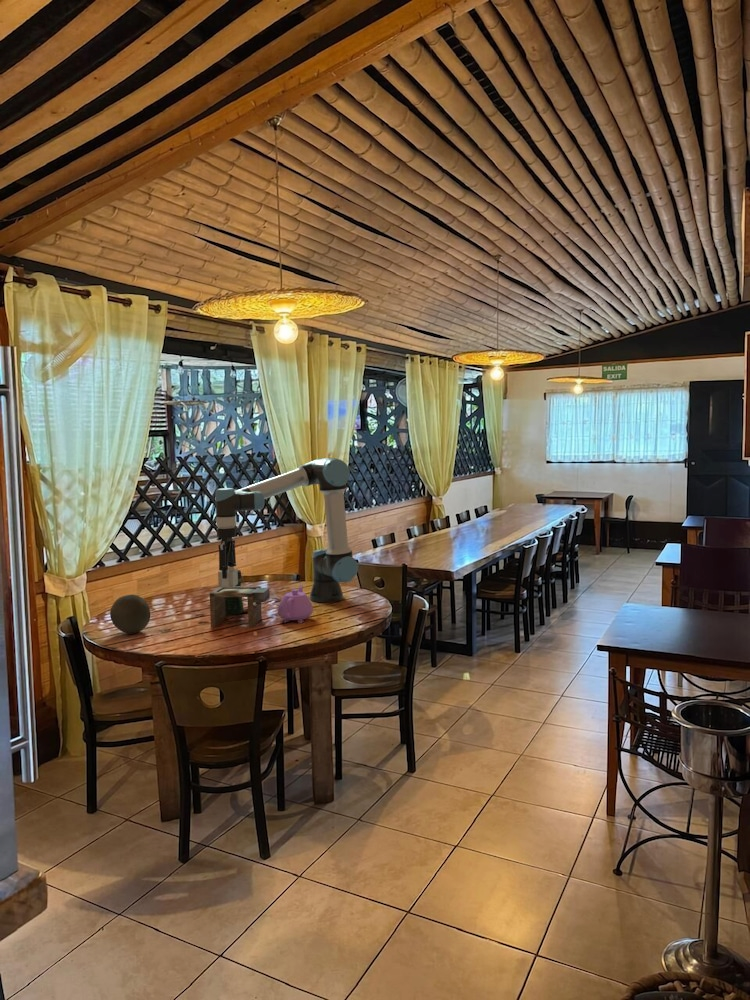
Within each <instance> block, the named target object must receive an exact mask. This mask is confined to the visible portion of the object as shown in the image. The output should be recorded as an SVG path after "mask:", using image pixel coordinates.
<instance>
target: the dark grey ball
mask: <svg viewBox="0 0 750 1000" xmlns="http://www.w3.org/2000/svg"><path fill="white" fill-rule="evenodd" d="M109 611H110V612H109V615H110V620H111V623H112V624H113V626H114V627H115V628H117V630H119V631H120V632H122V633H125V634H129V635H130V634H131V635H132V633H133V634H137V633H139V632H141V631H143V630H144V629H145V628H146V627H147V626H148V624H149V623H150V620H151V609H150V605H149V604H148V602H147V600H145V599H144V598H143V597H141V596H139V595H137V594H127V595H123V596H120V597H118V598H117V599H116V600H115V601H114V602H113V604H112V606H111V608H110V610H109Z"/></svg>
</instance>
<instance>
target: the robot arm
mask: <svg viewBox="0 0 750 1000" xmlns="http://www.w3.org/2000/svg"><path fill="white" fill-rule="evenodd" d="M350 476H351V471H350V468H349V465H347V463H346V462H345V461H343V460H342V459H340V458H335V457H330V458H329V457H324V458H323V457H322V458H316V459H314V460H311V461H308V462H307V463H304V464H302V465H299V466H297V468H296V469H294V470H290V471H288V472H285V473H283V474H279V475H277V476H275V477H271V478H268V479H265V480H262V481H260V482H257V483H253V484H250V485H248V486H246V487H242V488H240V489H235V488H233V487H231V488H230V487H223V488H216V490H215V498H214V499H215V500H214V501H215V514H216V517H215V520H214V521H215V522H216V537H217V538H219V539H221V540H220V544H218V545H217V547H218V557H219V558H218V562H219V563H218V564H219V565H218V571H221V570H222V587H229V570H228V569H235V567H237V556H236V540H235V539H233V538H236V536H237V527H236V526H237V519H236V516H237V515H236V512H246V511H247V512H249V511H255V512H256V511H259V510H262V509H264V508H265V500H266V499H269V498H271V497H275V496H277V495H279V494H280V495H281V494H283V493H286V492H288V491H291V490H293V489H297V488H300V487H304V488H306V487H309V486H312V485H318V486H319V492H321V493H322V494H323V500H324V501H323V502H324V511H325V513H324V514H325V522H326V532H327V533H326V534H327V541H328V543H327V544H328V548H323V549H316V550H313V552H312V558H311V559H312V576H313V577H312V579H313V581H312V587H311V590H310V593H309V600H310V601H312V602H314V603H334V602H339V601H342V600H343V599H344V592H343V590H342V587H341V584H340V583H348V582H351V581H353V579H354V578H355V577H356V576H357V574H358V571H359V570H358V569H359V564H358V562H357V560H356V559H355V558H354V557H353V556H354V555H353V549H352V548H351V547H349V543H348V542H349V540H348V529H347V519H346V508H345V498H344V496H345V495H344V492H345V491H346V490H347V483H348V481H349V479H350Z"/></svg>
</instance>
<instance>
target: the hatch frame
mask: <svg viewBox="0 0 750 1000" xmlns="http://www.w3.org/2000/svg"><path fill="white" fill-rule="evenodd" d="M256 588H262V587H261V586H248V585H247V586H245V585H244V586H242V585H241V586H234V587H219V586H218V587H217V588H215V589H214V590H212V591H211V592H209V613H210V614H209V616H210V617H209V618H210V627H211V628H216V627H217V626H219V625H220V624H221V623H222V622H223V621H225V620H226V618H227V617H226V616H227V615H226V611H225V597H242V598H247V620H248V626H247V627H248V628H254V627H255V626H256V625H258V623H259V622H260V621H262V620H263V617H262V615H263V614H262V613H263V612H262V603H253V592H219V591H221V590H223V589H256Z"/></svg>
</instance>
